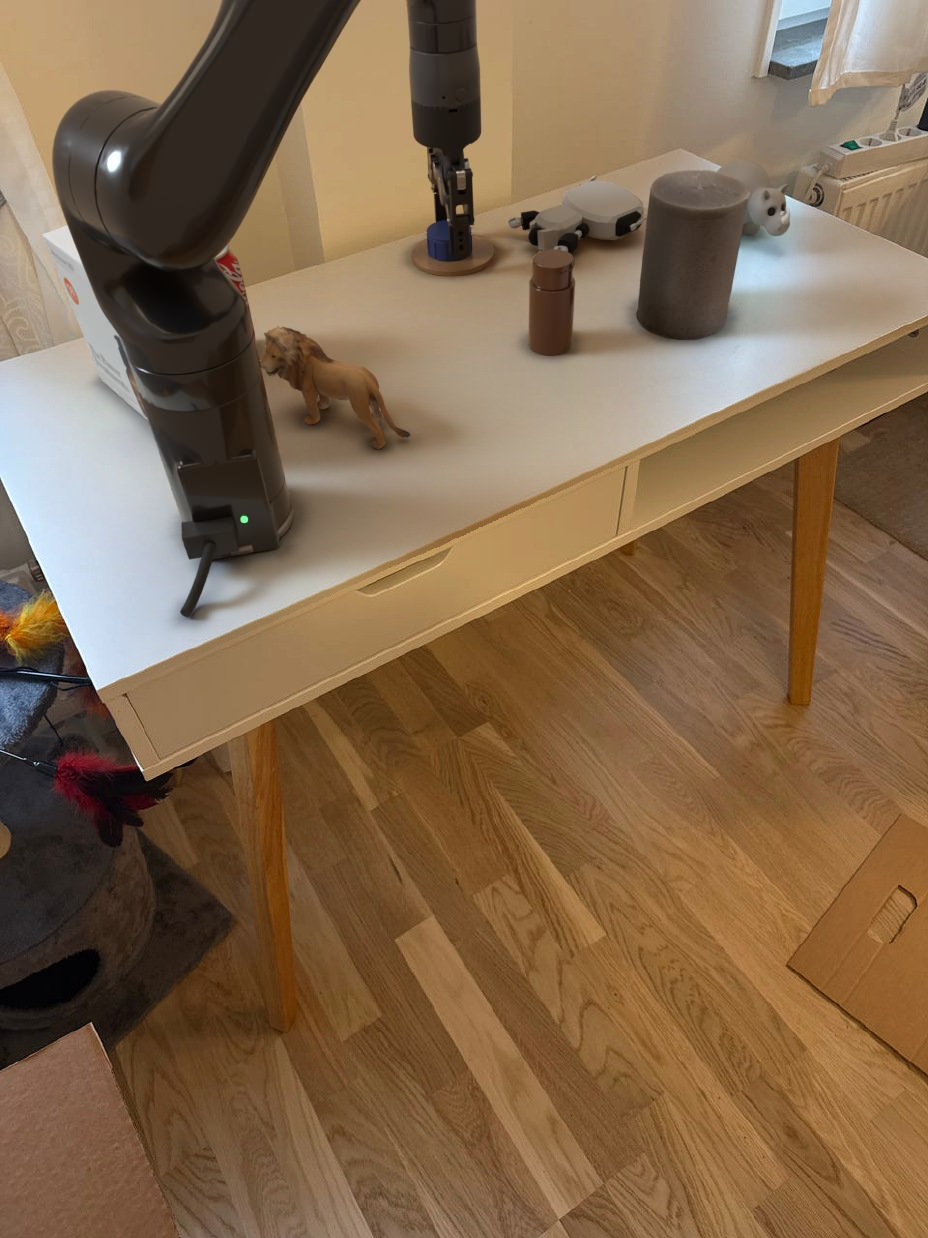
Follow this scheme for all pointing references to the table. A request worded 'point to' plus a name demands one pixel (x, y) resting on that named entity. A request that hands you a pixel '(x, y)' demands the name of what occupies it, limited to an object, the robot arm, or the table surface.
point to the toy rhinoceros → (760, 198)
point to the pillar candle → (690, 252)
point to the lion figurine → (325, 380)
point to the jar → (551, 302)
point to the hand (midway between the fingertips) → (452, 239)
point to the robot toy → (583, 216)
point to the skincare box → (93, 319)
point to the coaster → (472, 263)
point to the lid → (442, 242)
